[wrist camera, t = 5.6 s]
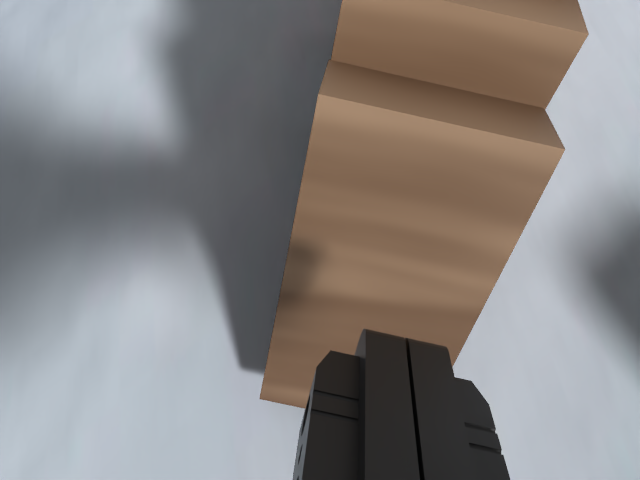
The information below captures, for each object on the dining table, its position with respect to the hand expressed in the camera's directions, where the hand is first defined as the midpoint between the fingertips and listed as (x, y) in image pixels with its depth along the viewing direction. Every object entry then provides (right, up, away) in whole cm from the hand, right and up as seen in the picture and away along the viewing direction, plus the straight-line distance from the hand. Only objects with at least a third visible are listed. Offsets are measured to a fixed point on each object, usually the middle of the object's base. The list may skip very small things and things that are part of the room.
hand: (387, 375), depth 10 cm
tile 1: (-1, -2, +8) cm, 8 cm away
